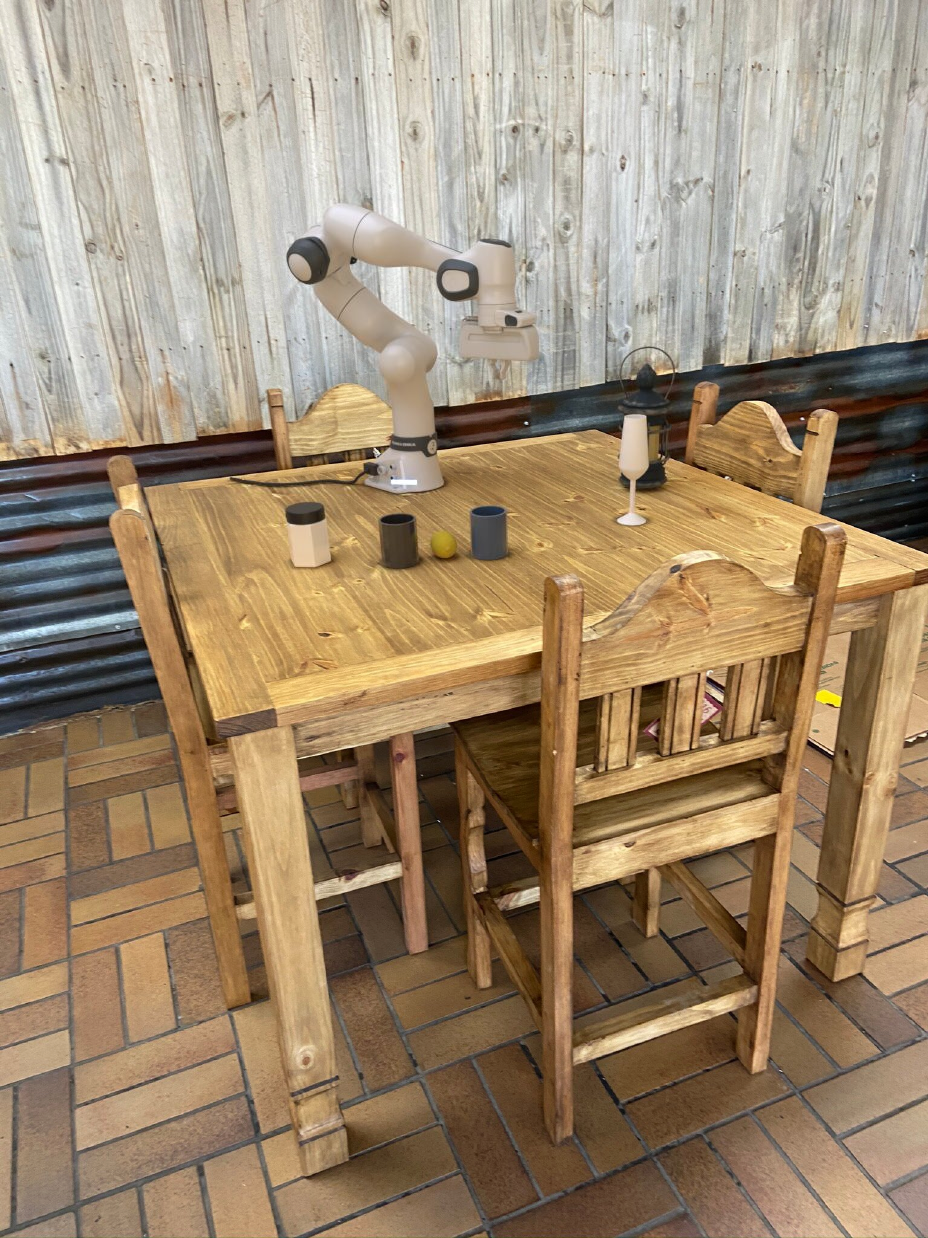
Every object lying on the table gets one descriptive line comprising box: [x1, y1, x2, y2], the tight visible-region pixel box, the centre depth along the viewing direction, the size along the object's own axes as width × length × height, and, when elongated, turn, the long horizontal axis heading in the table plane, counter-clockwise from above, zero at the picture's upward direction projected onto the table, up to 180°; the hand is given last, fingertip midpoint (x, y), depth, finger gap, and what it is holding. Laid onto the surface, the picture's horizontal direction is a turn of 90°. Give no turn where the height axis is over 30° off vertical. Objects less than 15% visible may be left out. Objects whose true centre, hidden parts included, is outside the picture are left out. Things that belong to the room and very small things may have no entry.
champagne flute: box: [616, 414, 649, 526], centre depth 200 cm, size 7×7×24 cm
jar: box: [284, 501, 332, 568], centre depth 188 cm, size 9×8×12 cm
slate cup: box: [468, 504, 509, 561], centre depth 187 cm, size 8×8×10 cm
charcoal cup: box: [377, 512, 420, 569], centre depth 185 cm, size 8×8×10 cm
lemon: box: [429, 530, 458, 559], centre depth 188 cm, size 6×6×8 cm
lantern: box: [617, 345, 676, 491], centre depth 222 cm, size 14×13×35 cm
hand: (499, 379), depth 205 cm, fingers closed
